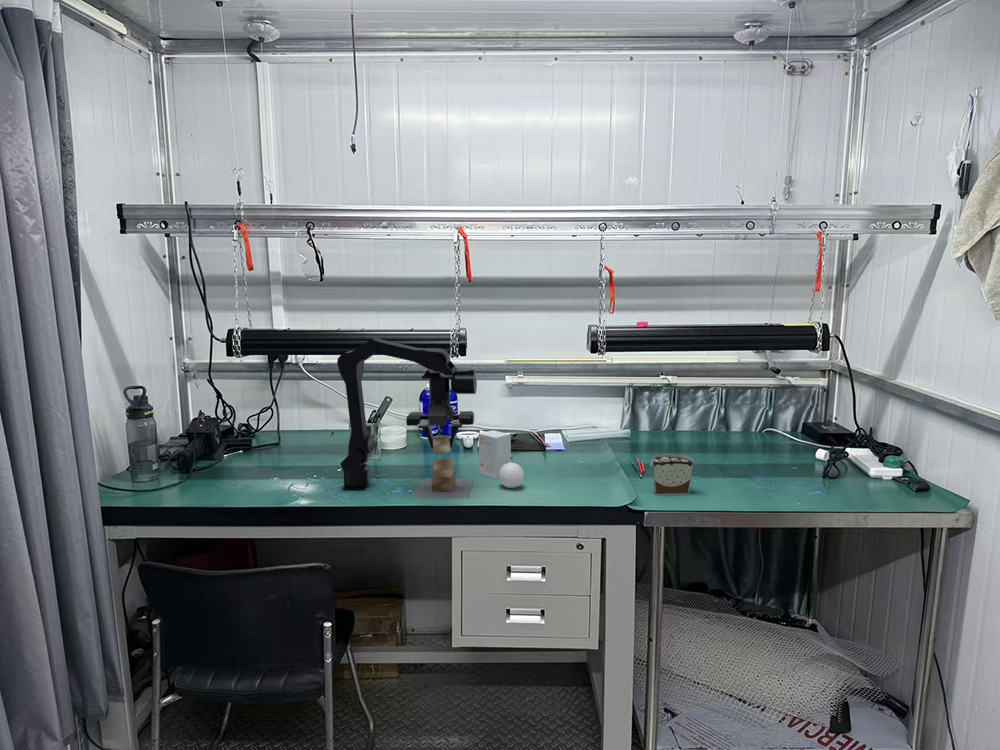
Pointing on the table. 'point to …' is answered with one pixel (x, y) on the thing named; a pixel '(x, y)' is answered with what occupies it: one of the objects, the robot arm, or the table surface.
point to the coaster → (460, 491)
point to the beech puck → (441, 444)
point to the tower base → (443, 484)
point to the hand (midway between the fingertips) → (441, 447)
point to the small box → (493, 452)
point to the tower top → (443, 468)
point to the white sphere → (511, 475)
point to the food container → (672, 474)
